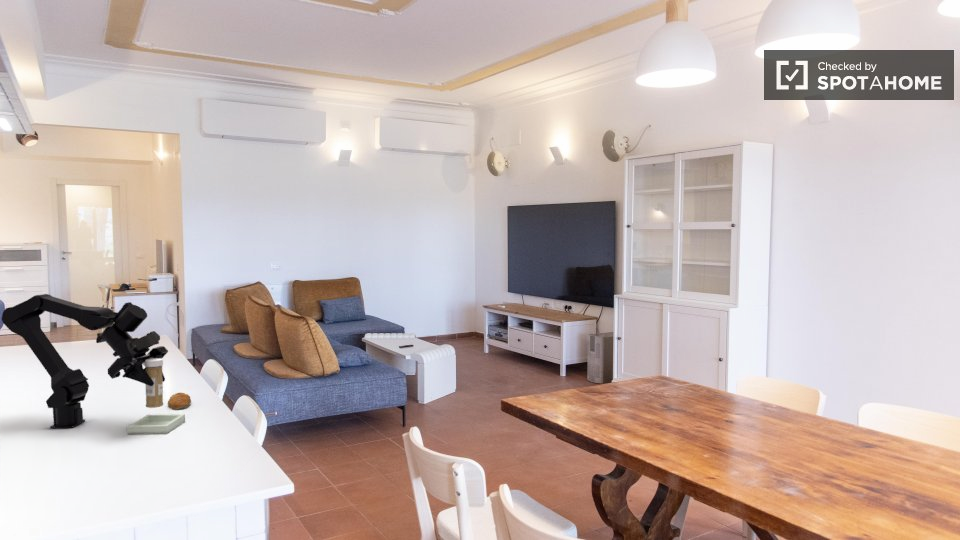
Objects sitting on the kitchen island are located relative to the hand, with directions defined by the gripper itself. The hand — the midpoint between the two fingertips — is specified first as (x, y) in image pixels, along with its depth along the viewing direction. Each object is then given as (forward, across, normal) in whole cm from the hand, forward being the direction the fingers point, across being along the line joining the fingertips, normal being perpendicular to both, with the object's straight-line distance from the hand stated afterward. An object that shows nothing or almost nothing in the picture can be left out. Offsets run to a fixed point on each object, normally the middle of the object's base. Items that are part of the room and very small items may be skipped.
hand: (158, 382), depth 183 cm
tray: (+8, 0, +10) cm, 13 cm away
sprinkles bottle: (+4, 0, +6) cm, 7 cm away
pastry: (+3, +22, +16) cm, 27 cm away
